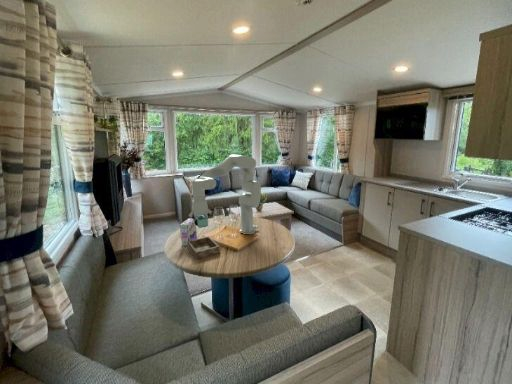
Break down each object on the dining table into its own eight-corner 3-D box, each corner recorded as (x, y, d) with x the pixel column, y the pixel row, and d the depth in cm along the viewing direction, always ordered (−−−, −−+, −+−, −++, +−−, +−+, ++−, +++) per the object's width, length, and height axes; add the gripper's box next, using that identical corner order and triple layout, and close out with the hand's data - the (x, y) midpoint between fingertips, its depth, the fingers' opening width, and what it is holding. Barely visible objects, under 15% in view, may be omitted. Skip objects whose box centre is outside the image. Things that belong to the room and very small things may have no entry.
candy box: (189, 246, 180) (187, 224, 177) (181, 246, 182) (179, 224, 178) (197, 238, 194) (195, 218, 190) (190, 238, 195) (188, 217, 191)
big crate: (209, 242, 186) (208, 236, 185) (220, 253, 169) (219, 246, 168) (187, 248, 178) (187, 241, 177) (196, 259, 161) (196, 252, 160)
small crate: (203, 221, 175) (202, 214, 174) (208, 226, 166) (207, 218, 165) (194, 223, 172) (194, 216, 171) (199, 228, 164) (198, 220, 162)
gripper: (209, 195, 172) (211, 220, 177) (184, 199, 164) (187, 225, 168) (213, 197, 166) (215, 223, 170) (187, 201, 158) (190, 228, 162)
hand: (201, 224), depth 169 cm, fingers closed on small crate, 6 cm apart
